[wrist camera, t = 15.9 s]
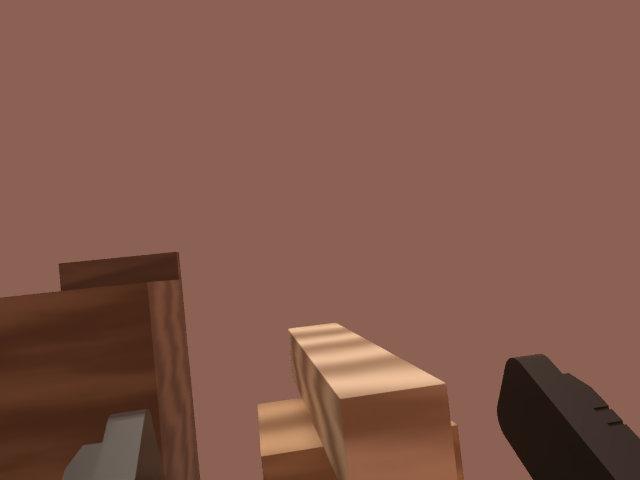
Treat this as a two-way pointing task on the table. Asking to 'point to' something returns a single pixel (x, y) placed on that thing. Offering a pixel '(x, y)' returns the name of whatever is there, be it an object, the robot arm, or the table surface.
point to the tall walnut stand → (96, 365)
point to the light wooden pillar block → (303, 444)
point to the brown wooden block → (372, 407)
